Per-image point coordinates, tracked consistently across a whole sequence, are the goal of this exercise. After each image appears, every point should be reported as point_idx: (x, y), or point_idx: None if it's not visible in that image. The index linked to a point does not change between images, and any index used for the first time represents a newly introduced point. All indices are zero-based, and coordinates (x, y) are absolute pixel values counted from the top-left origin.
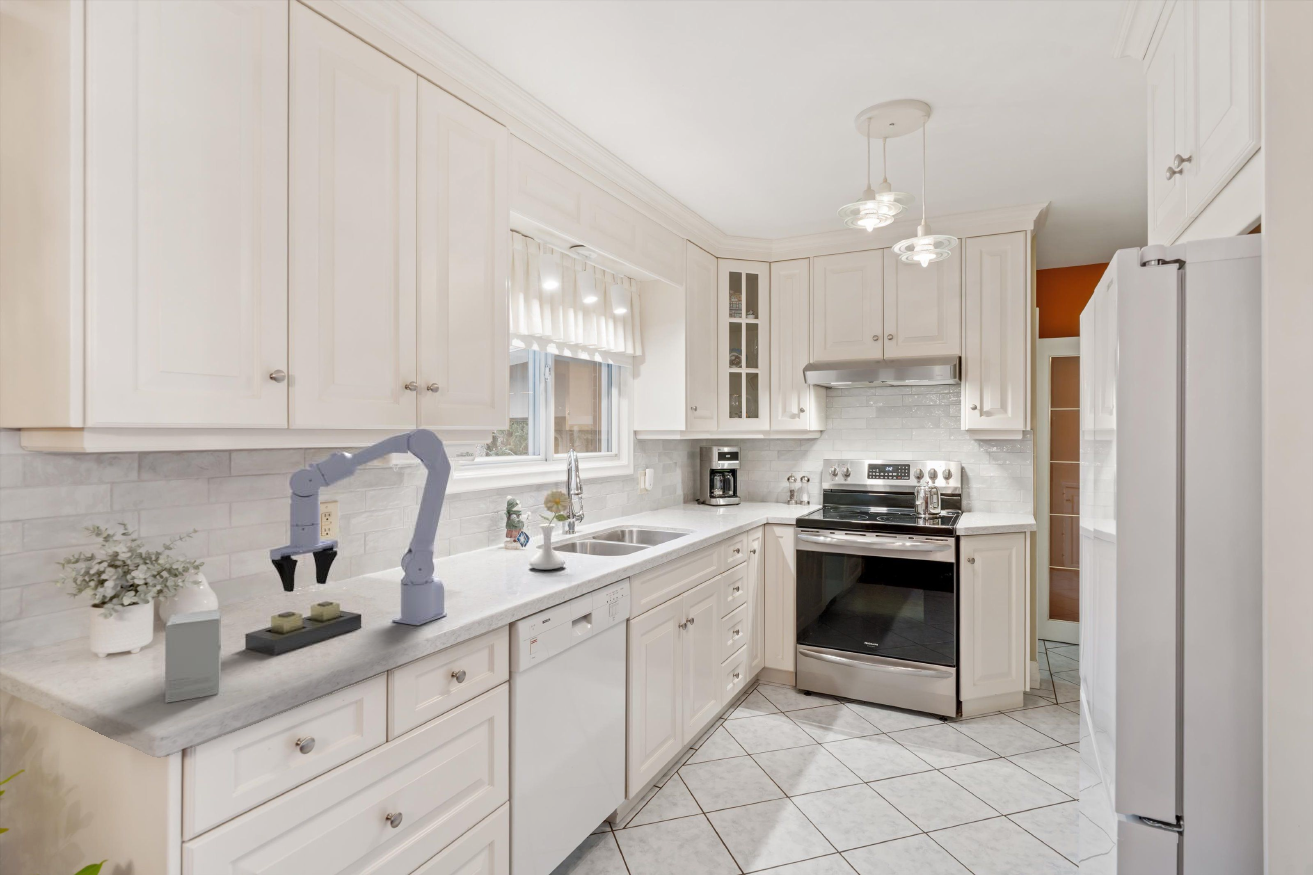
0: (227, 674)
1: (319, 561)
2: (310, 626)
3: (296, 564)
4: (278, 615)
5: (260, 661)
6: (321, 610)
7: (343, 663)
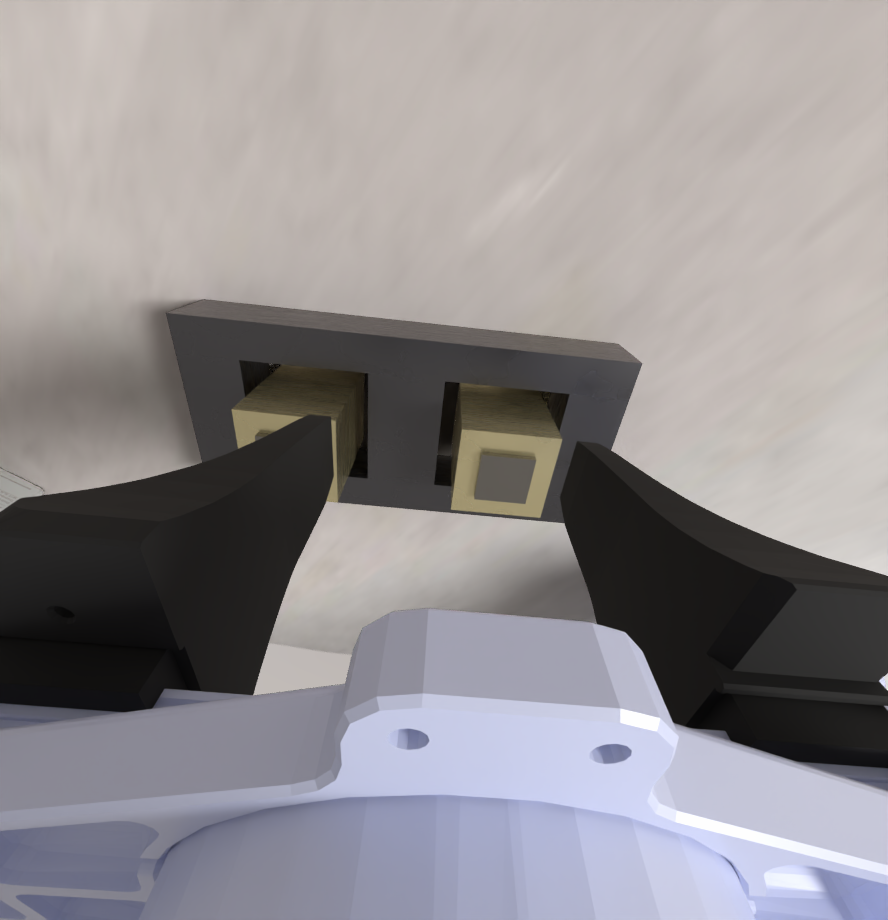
0: (73, 468)
1: (643, 588)
2: (380, 478)
3: (253, 688)
4: (257, 436)
5: (183, 463)
6: (452, 490)
7: (305, 631)
